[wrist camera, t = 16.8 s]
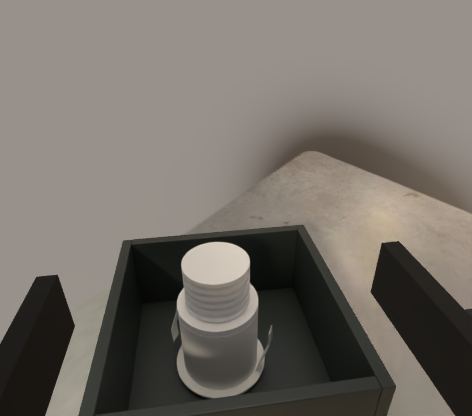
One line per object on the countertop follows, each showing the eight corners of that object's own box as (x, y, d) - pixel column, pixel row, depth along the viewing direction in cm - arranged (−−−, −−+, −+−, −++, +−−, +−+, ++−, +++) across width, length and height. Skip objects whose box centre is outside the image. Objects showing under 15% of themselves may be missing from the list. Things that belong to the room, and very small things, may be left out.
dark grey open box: (105, 507, 21) (73, 433, 17) (136, 304, 35) (122, 240, 31) (371, 462, 23) (396, 386, 19) (297, 287, 37) (303, 224, 33)
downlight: (279, 339, 30) (285, 243, 25) (257, 416, 24) (259, 312, 20) (194, 317, 33) (184, 225, 28) (155, 384, 27) (135, 282, 22)
